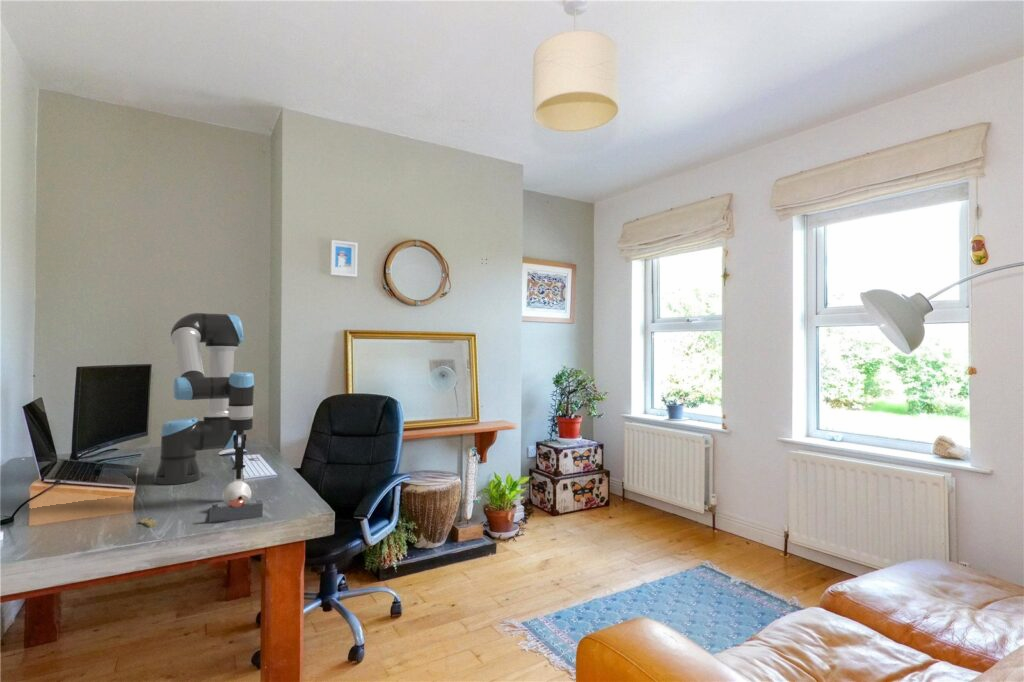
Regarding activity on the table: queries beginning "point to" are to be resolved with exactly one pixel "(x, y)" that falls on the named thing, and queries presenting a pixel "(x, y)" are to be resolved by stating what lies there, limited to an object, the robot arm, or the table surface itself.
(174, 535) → the table surface
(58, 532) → the table surface
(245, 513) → the channel
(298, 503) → the table surface
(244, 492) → the spotlight
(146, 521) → the brass key
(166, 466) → the robot arm
